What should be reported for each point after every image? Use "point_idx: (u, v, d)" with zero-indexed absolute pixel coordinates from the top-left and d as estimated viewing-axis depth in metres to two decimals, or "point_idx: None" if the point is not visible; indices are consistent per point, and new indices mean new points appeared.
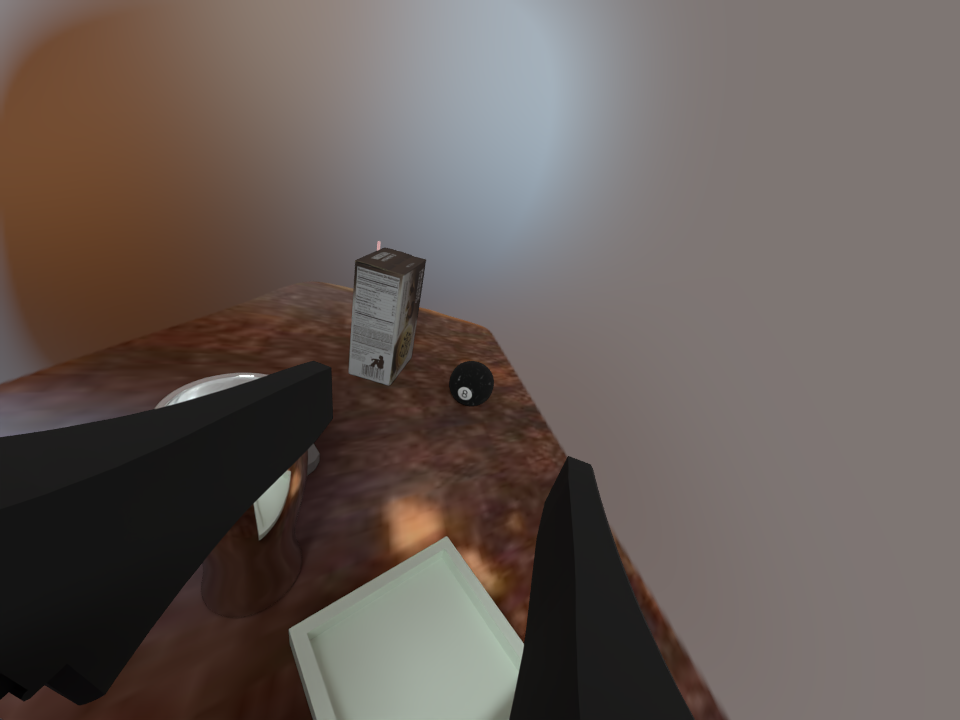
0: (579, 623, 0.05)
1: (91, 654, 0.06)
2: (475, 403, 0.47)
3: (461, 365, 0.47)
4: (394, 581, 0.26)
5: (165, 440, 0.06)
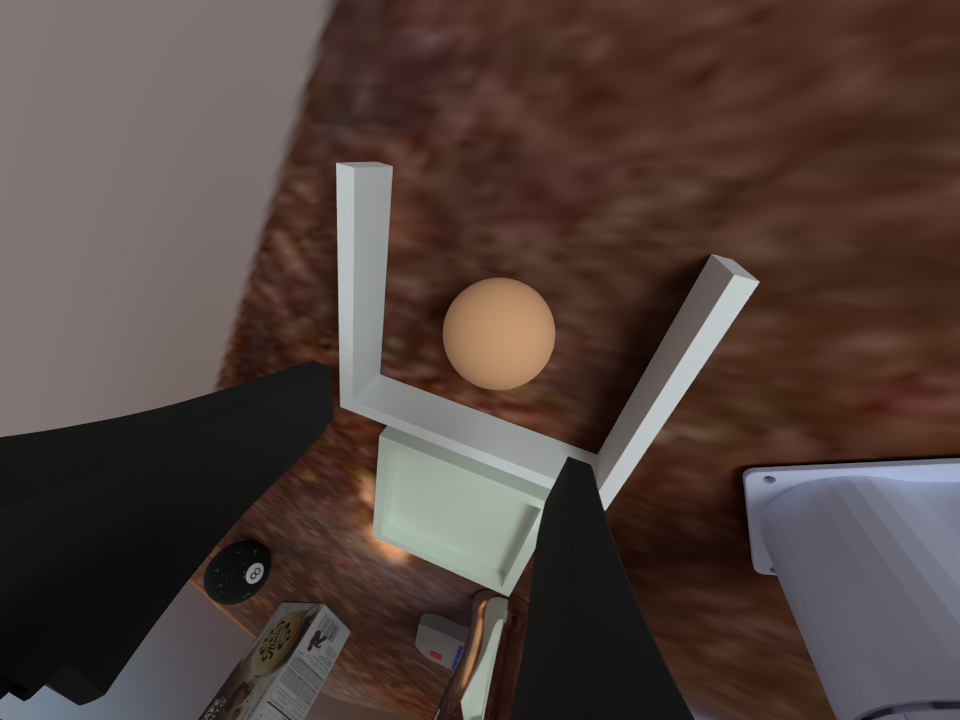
0: (579, 623, 0.05)
1: (91, 654, 0.06)
2: (252, 552, 0.39)
3: (232, 604, 0.38)
4: (432, 553, 0.29)
5: (164, 440, 0.06)
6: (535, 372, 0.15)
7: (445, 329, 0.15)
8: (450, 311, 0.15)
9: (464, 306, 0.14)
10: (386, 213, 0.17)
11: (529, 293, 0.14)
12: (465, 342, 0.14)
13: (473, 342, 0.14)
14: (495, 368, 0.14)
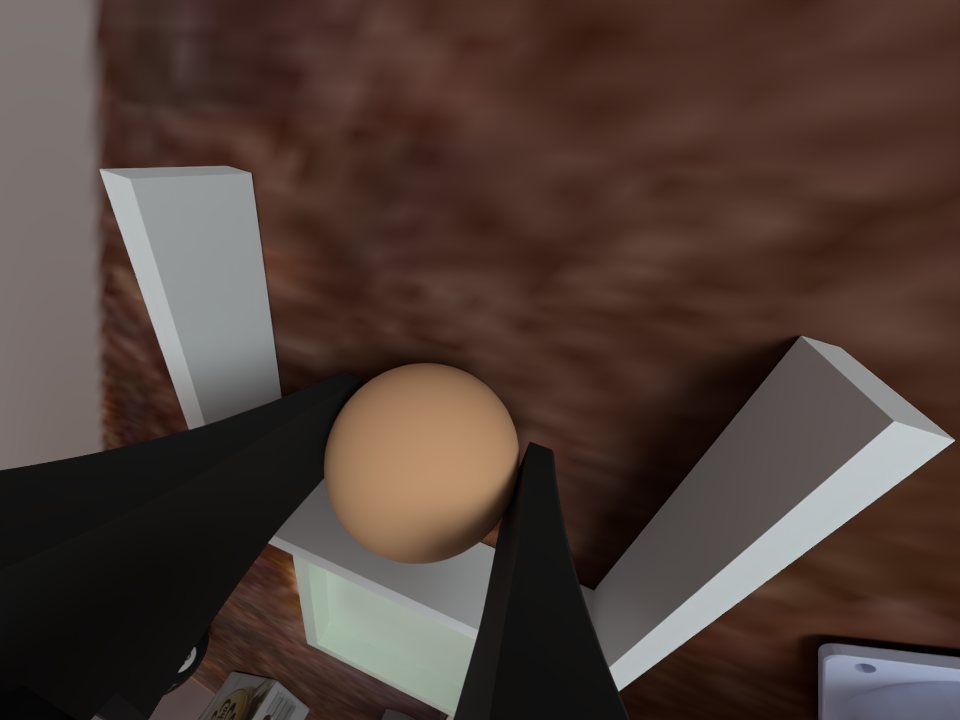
0: (513, 594, 0.05)
1: (138, 681, 0.06)
2: None
3: None
4: (382, 669, 0.22)
5: (212, 461, 0.06)
6: (482, 538, 0.08)
7: (324, 461, 0.09)
8: (331, 431, 0.08)
9: (347, 432, 0.08)
10: (253, 249, 0.11)
11: (467, 405, 0.08)
12: (344, 504, 0.07)
13: (356, 508, 0.07)
14: (401, 552, 0.07)
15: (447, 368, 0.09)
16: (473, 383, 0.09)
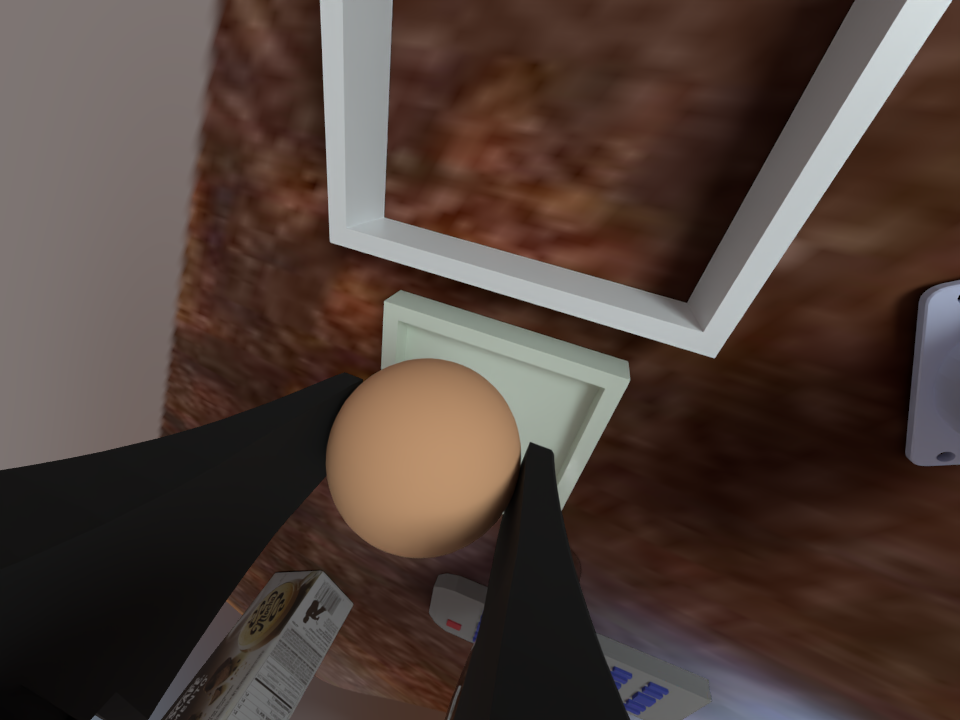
0: (513, 594, 0.05)
1: (138, 680, 0.06)
2: None
3: None
4: None
5: (211, 460, 0.06)
6: (485, 531, 0.08)
7: (326, 457, 0.08)
8: (333, 427, 0.08)
9: (349, 428, 0.08)
10: None
11: (469, 399, 0.08)
12: (348, 499, 0.07)
13: (360, 503, 0.07)
14: (405, 546, 0.07)
15: (448, 363, 0.09)
16: (474, 377, 0.09)
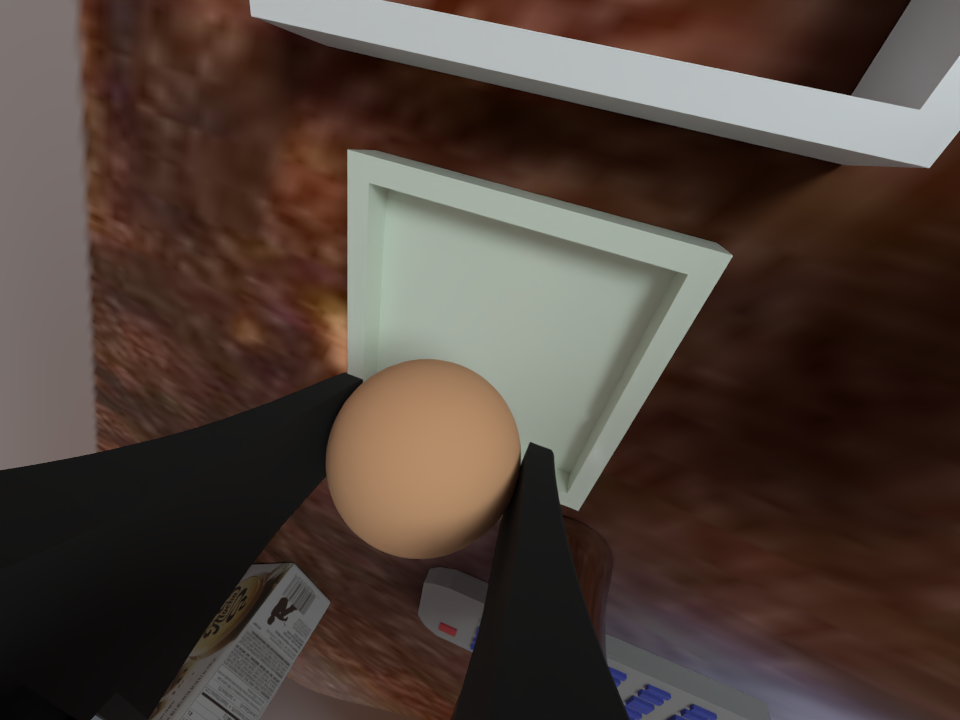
0: (512, 594, 0.05)
1: (138, 680, 0.06)
2: None
3: None
4: None
5: (212, 460, 0.06)
6: (485, 532, 0.08)
7: None
8: (332, 428, 0.08)
9: (348, 429, 0.08)
10: None
11: (468, 399, 0.08)
12: (348, 500, 0.07)
13: (360, 504, 0.07)
14: (405, 547, 0.07)
15: (447, 363, 0.09)
16: (473, 378, 0.09)
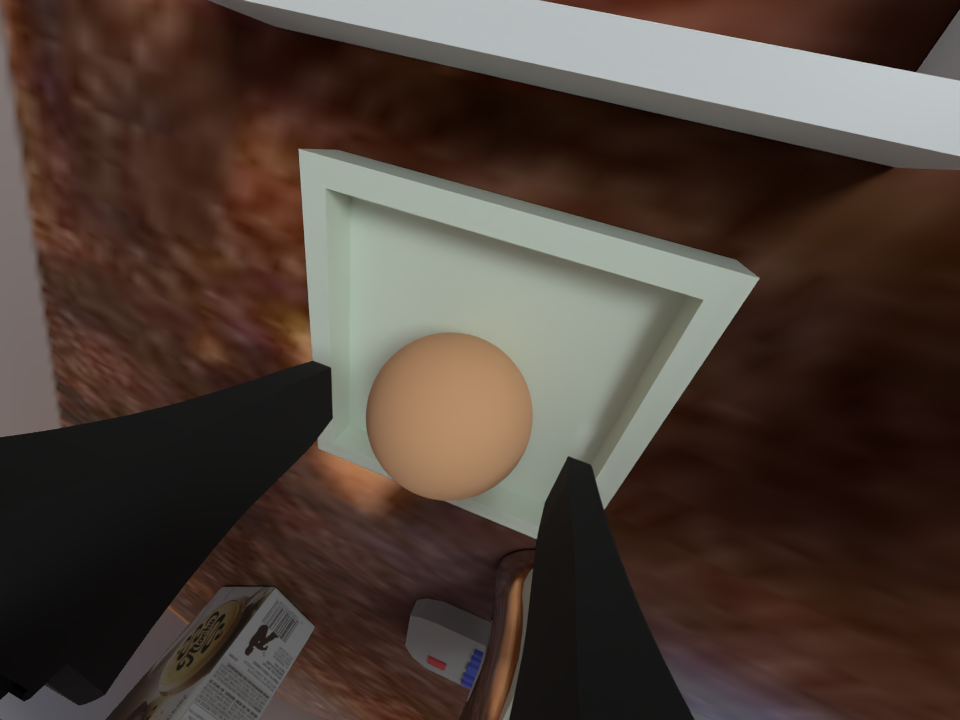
0: (579, 623, 0.05)
1: (91, 654, 0.06)
2: None
3: None
4: None
5: (164, 440, 0.06)
6: (503, 478, 0.10)
7: (366, 415, 0.10)
8: (372, 389, 0.10)
9: (389, 387, 0.09)
10: None
11: (489, 362, 0.09)
12: (390, 445, 0.09)
13: (401, 447, 0.09)
14: (438, 484, 0.09)
15: (469, 335, 0.10)
16: (492, 347, 0.10)
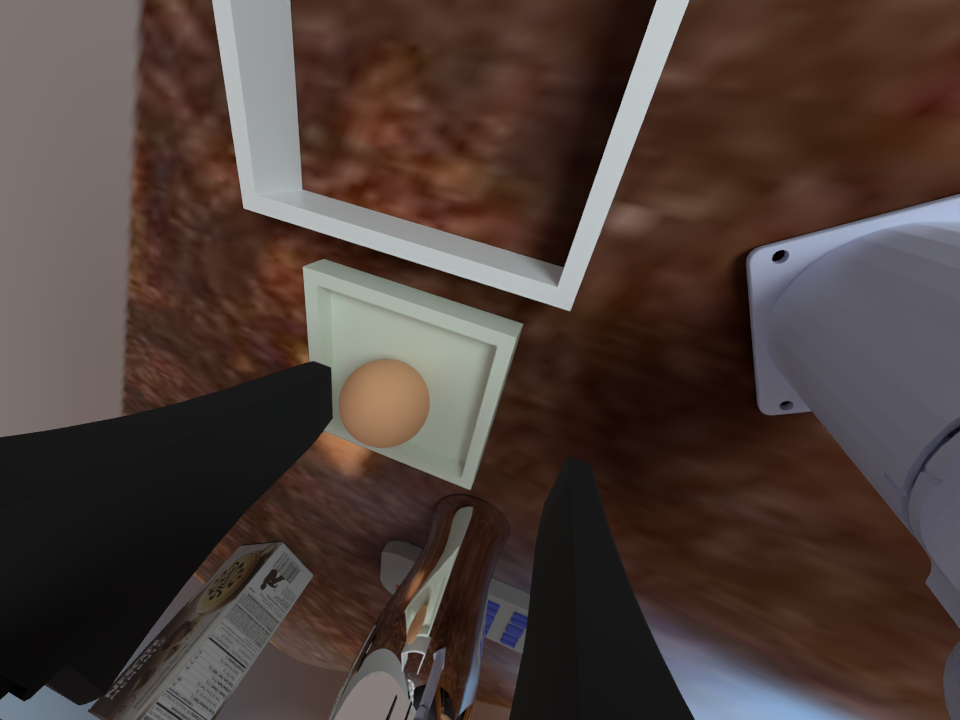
0: (579, 623, 0.05)
1: (91, 654, 0.06)
2: None
3: None
4: None
5: (164, 440, 0.06)
6: (409, 435, 0.19)
7: None
8: (341, 390, 0.19)
9: (349, 389, 0.18)
10: None
11: (400, 376, 0.19)
12: (349, 417, 0.18)
13: (354, 418, 0.18)
14: (373, 437, 0.18)
15: (393, 361, 0.20)
16: (405, 367, 0.19)
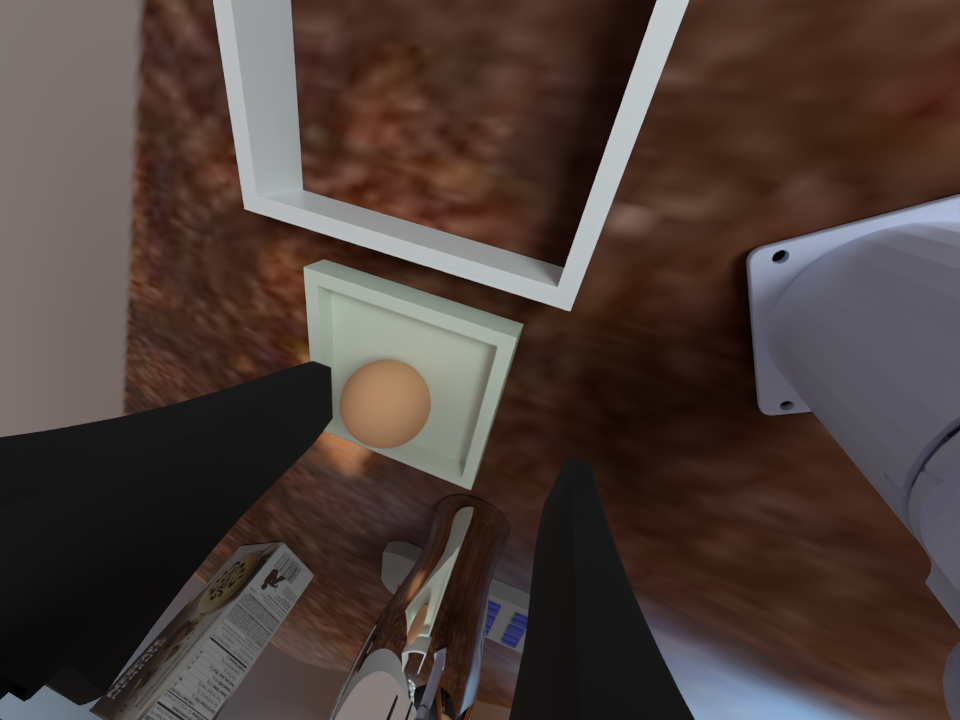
0: (579, 623, 0.05)
1: (91, 654, 0.06)
2: None
3: None
4: None
5: (165, 440, 0.06)
6: (411, 435, 0.19)
7: None
8: (342, 391, 0.19)
9: (350, 390, 0.18)
10: None
11: (401, 377, 0.19)
12: (350, 419, 0.18)
13: (355, 419, 0.18)
14: (374, 437, 0.18)
15: (394, 361, 0.20)
16: (405, 368, 0.19)
